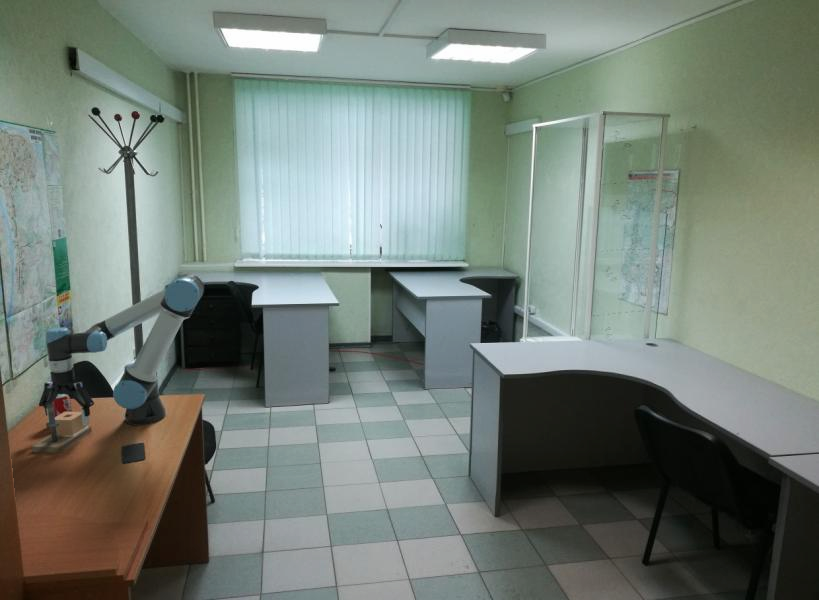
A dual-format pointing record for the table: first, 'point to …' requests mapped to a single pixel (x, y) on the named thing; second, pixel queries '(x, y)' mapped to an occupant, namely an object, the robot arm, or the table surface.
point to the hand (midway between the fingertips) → (69, 423)
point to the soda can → (62, 404)
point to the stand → (57, 437)
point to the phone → (133, 453)
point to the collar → (69, 423)
